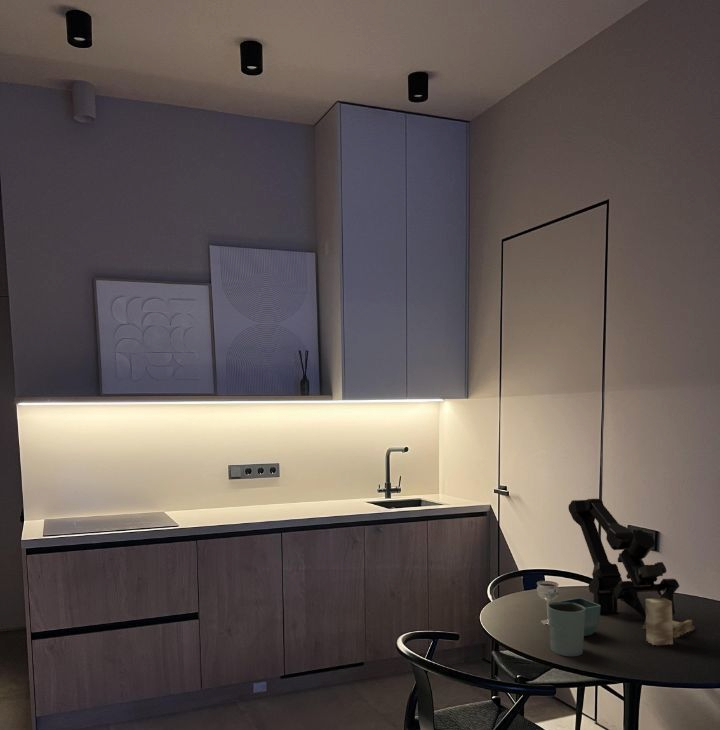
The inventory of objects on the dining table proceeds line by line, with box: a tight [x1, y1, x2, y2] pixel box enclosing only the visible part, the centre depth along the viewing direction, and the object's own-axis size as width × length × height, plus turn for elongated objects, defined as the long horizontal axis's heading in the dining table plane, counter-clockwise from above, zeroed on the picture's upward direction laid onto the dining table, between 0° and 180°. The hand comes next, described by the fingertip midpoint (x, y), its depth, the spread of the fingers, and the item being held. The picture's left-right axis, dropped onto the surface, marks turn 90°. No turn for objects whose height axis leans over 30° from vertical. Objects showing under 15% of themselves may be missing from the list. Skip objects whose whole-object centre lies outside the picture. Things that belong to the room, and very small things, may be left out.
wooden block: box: [645, 597, 674, 646], centre depth 190 cm, size 6×4×12 cm, turn 101°
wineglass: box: [536, 580, 560, 626], centre depth 208 cm, size 7×7×12 cm
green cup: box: [546, 601, 586, 657], centre depth 185 cm, size 10×10×12 cm
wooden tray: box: [642, 619, 696, 639], centre depth 201 cm, size 12×10×2 cm
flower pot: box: [558, 597, 601, 637], centre depth 198 cm, size 9×9×9 cm
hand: (659, 615), depth 190 cm, fingers open, 9 cm apart
